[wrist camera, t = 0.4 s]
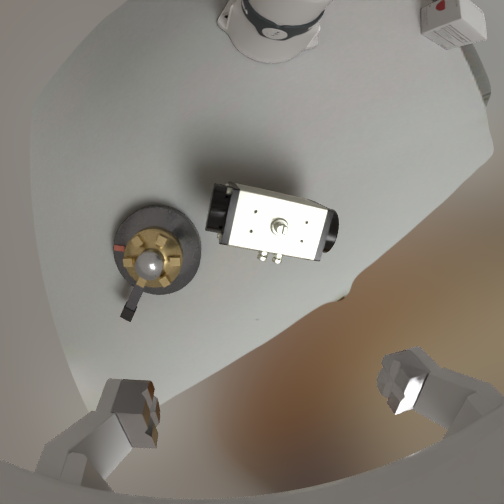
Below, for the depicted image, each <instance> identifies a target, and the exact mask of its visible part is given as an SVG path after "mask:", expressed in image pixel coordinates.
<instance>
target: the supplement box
mask: <svg viewBox="0 0 504 504" xmlns="http://www.w3.org/2000/svg"><path fill="white" fill-rule="evenodd" d="M421 34H422V35H424V36H425V37H427V38H429V39H430V40H432V41H433V42H435V43H437V44H438V45H440V46H441V47H443V48H444V49H446V50H448V49H452V48H455V47H459V46H463V45H467V44H471V43H474V42H479V41H483V40H487V34H486V23H485V18H484V13H483V11H482V10H481V9H479V8H478V7H477V6H476V5H475V4H473V3H472V2H471V1H470V0H438V1H436V2H434V3H432V4H430V5H428V6H426V7H424V8H422V9H421Z"/></svg>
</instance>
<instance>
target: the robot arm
mask: <svg viewBox="0 0 504 504" xmlns="http://www.w3.org/2000/svg"><path fill="white" fill-rule="evenodd" d="M331 1H332V0H229V2H228V3H227V5H226V6H225V8H224V10H223V11H222V13H221V15H220V16H219V18H218V21H217V24H218V26H219V27H220V28H221V29H223V30H224V31H225V32H226V33H227V34H228V35H229V37H230V39H231V41H232V43H233V44H234V46H235V47H236V48H237V49H238V50H239V51H240V52H241V53H242V54H244V55H245V56H247V57H249V58H251V59H253V60H256V61H259V62H264V63H280V62H284V61H287V60H290V59H292V58H294V57H295V56H297V55H298V54H299V53H300V52H302V51H304V50H308V49H312V48H315V47H316V46H317V44H318V32H319V31H320V28H321V27H320V26H319V20H320V19H321V17H322V15H323V13H324V10H325V8H326V7H327V6H328V5H329V4H330V2H331ZM225 16H228V18H225ZM382 366H383V368H382V369H381V371H380V372H379V373H378V377H377V387H378V389H379V391H380V393H381V395H382V396H384V397H386V398H388V401H387V404H388V405H389V407H390V408H391V410H392V411H393V413H394V414H398V413H401V412H404V411H407V410H410V409H413V410H414V411H416V412H418V413H420V414H421V415H423V416H425V417H427V418H428V419H430V420H432V421H434V422H435V423H437V424H439V425H441V426H442V427H444V428H446V429H448V431H447V432H446V434H445V435H444V437H443V440H441V441H440V442H437V443H435V444H433V445H431V446H429V447H427V448H425V449H423V450H421V451H418V452H416V453H414V454H412V455H409V456H407V457H405V458H402V459H400V460H397V461H395V462H392V463H390V464H387V465H385V466H382V467H379V468H376V469H373V470H370V471H368V472H364V473H361V474H358V475H355V476H351V477H348V478H345V479H341V480H337V481H334V482H329V483H325V484H321V485H317V486H313V487H308V488H303V489H298V490H293V491H287V492H281V493H274V494H267V495H259V496H250V497H238V498H222V499H172V498H155V497H145V496H136V495H128V494H120V493H115V492H114V491H113V490H112V489H111V487H110V486H109V485H108V484H107V483H106V481H105V479H106V478H107V477H108V475H109V474H110V473H111V472H112V471H113V470H114V469H115V468H116V466H117V465H118V464H119V463H120V462H121V461H122V460H123V459H124V458H125V456H126V455H127V454H128V453H129V452H130V451H131V450H132V447H137V448H157V439H158V432H157V429H156V426H157V425H158V424H159V423H160V407H159V402H158V399H157V398H156V397H155V396H154V390H155V389H154V386H153V383H152V381H146V380H128V379H123V380H122V379H111V378H110V379H108V380H107V382H106V384H105V387H104V390H103V392H102V395H101V398H100V400H99V403H98V406H97V409H96V411H91V412H90V413H88V414H87V415H86V416H84V417H83V418H82V419H80V420H79V421H77V422H76V423H74V424H73V425H72V426H70V427H69V428H68V429H66V430H65V431H64V432H62V433H61V434H60V435H58V436H56V437H55V438H53V439H52V440H51V441H50V442H48V443H47V444H45V446H44V449H43V451H42V454H41V456H40V459H39V461H38V464H37V467H36V469H35V472H32V471H29V470H26V469H24V468H21V467H18V466H16V465H13V464H11V463H9V462H6V461H4V460H2V459H0V504H504V397H503V396H502V395H501V394H500V393H499V392H498V391H497V390H496V389H495V388H494V387H493V386H492V385H491V384H490V383H488V382H484V381H482V380H478V379H475V378H473V377H469V376H467V375H464V374H461V373H458V372H455V371H452V370H449V369H447V368H442V369H441V368H440V367H439V366H438V365H437V364H436V362H434V360H433V359H432V358H431V357H430V356H428V355H427V353H426V352H425V351H423V350H422V348H420V347H418V346H416V347H413V348H409V349H407V350H403V351H399V352H395V353H391V354H387V355H385V356H384V358H383V360H382Z"/></svg>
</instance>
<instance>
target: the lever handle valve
mask: <svg viewBox="0 0 504 504" xmlns="http://www.w3.org/2000/svg"><path fill="white" fill-rule="evenodd" d="M147 248H155V249H158V250H159V251H160V252H161V253H162V254H163V256H164V259H165V264H164V267H163V269H162V272H161V274H160V276H159V277H158V278H156V279H154V280H145V279H143V278H141V277H140V276H139V275H138V274H137V272H136V270H135V262H136V260H137V258H138V257H139V255H140V254H141V252H142V251H143V250H145V249H147ZM182 262H183V248H182V245H181V243H180V241H179V239H178V238H177V236H176V235H175V234H174V233H172V232H171V231H169V230H168V229H166V228H163V227H159V226H149V227H145V228H143V229H141V230H139V231H138V232H137V233H136V234H135V235H134V236H133V237H132V238H131V239H130V240H129V242H128V243H127V245H126V248H125V251H124V258H123V265H124V267H126V269H127V271H128V273H129V274H130V276H131V277H132V278H133V279H134V280H135V281H136V284H135V286H134V288H133V290H132V293H131V295H130V297H129V300H128V302H126V304H125V306H124V309H123V311H122V313H121V316H120V317H122V318H124V319H125V320H127V321H129V322H131V320H132V318H133V315H134V313H135V311H136V308H137V304H138V301H139V299H140V297H141V295H142V293H143V291H144V288H145V286H147V287H153V288H156V287H164V288H165V287H166V286H168V285H170V284H171V282H172V281H173V280H175V278H176V277H177V276H178V274H179V272H180V269H181V266H182Z"/></svg>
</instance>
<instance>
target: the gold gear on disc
mask: <svg viewBox="0 0 504 504" xmlns="http://www.w3.org/2000/svg"><path fill="white" fill-rule="evenodd" d="M149 226H159V227H163V228H166V229H168V230H169V231H171V232H172V233H174V234H175V235H176V236H177V238H178V239H179V241H180V243H181V245H182V248H183V262H182V266H181V269H180V272H179V274H178V276H177V277H176V278H175V280H173V281H172V282H171V284H170V285H168V286H166V287H165V288H164V287H156V288H153V287H147V286H145V288H144V291H143V292H146V293H150V294H156V295H164V294H170V293H173V292H176V291H178V290H180V289H182V288H183V287H185V286H186V285H187V284H188V283H189V282H190V281H191V280H192V279H193V277H194V276H195V274H196V272H197V270H198V267H199V264H200V258H201V241H200V237H199V234H198V231H197V229H196V227H195V226H194V224H193V223H192V222H191V221H190V219H189V218H188V217H186V216H185V215H184V214H183V213H181V212H180V211H178V210H176V209H174V208H171V207H167V206H160V205H155V206H148V207H145V208H142V209H140V210H138V211H136V212H135V213H133V214H132V215H131V216H129V217H128V218H127V219H126V220H125V221H124V222H123V223H122V225H121V226H120V227H119V229H118V231H117V233H116V236H115V240H114V247H113V249H114V259H115V262H116V265H117V267H118V269H119V271H120V273H121V274H122V276H123V277H124V278H125V279H126V280H127V282H129V283H130V284H131V285H132V286H135V284H136V281H135V280H134V279H133V278H132V277H131V276H130V274H129V273H128V271H127V269H126V267H124V265H123V258H124V251H125V248H126V245H127V243H128V242H129V240H130V239H131V238H132V237H133V236H134V235H135V234H136V233H137V232H138V231H139V230H141V229H143V228H145V227H149ZM164 264H165V259H164V256H163V254H162V253H161V252H160V251H159V250H158V249H155V248H147V249H145V250H143V251H142V252H141V254H140V255H139V257H138V258H137V260H136V262H135V270H136V272H137V274H138V275H139V276H140V277H141V278H143V279H145V280H154V279H156V278H158V277H159V276H160V274H161V272H162V269H163V267H164Z"/></svg>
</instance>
